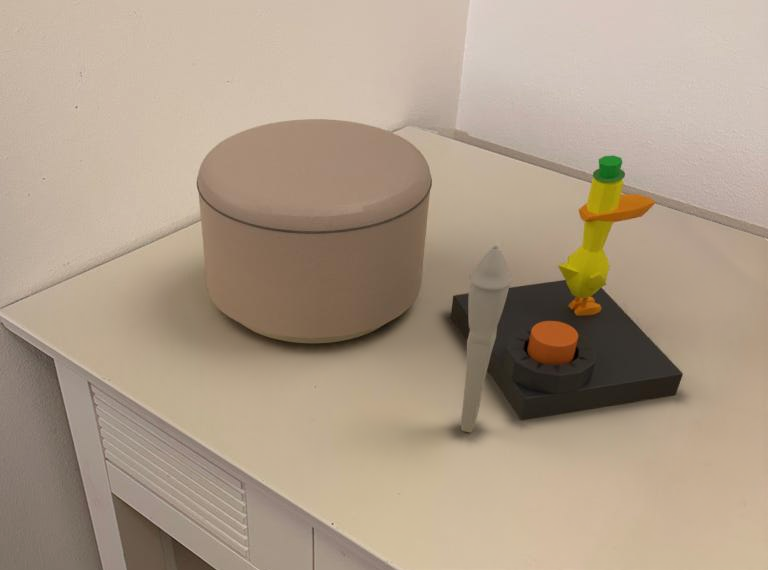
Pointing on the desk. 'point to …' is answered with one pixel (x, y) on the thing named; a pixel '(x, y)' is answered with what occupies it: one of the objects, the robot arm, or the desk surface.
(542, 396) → the orange button pad
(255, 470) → the desk surface
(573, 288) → the toy figure
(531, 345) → the button
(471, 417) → the pen
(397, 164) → the container
